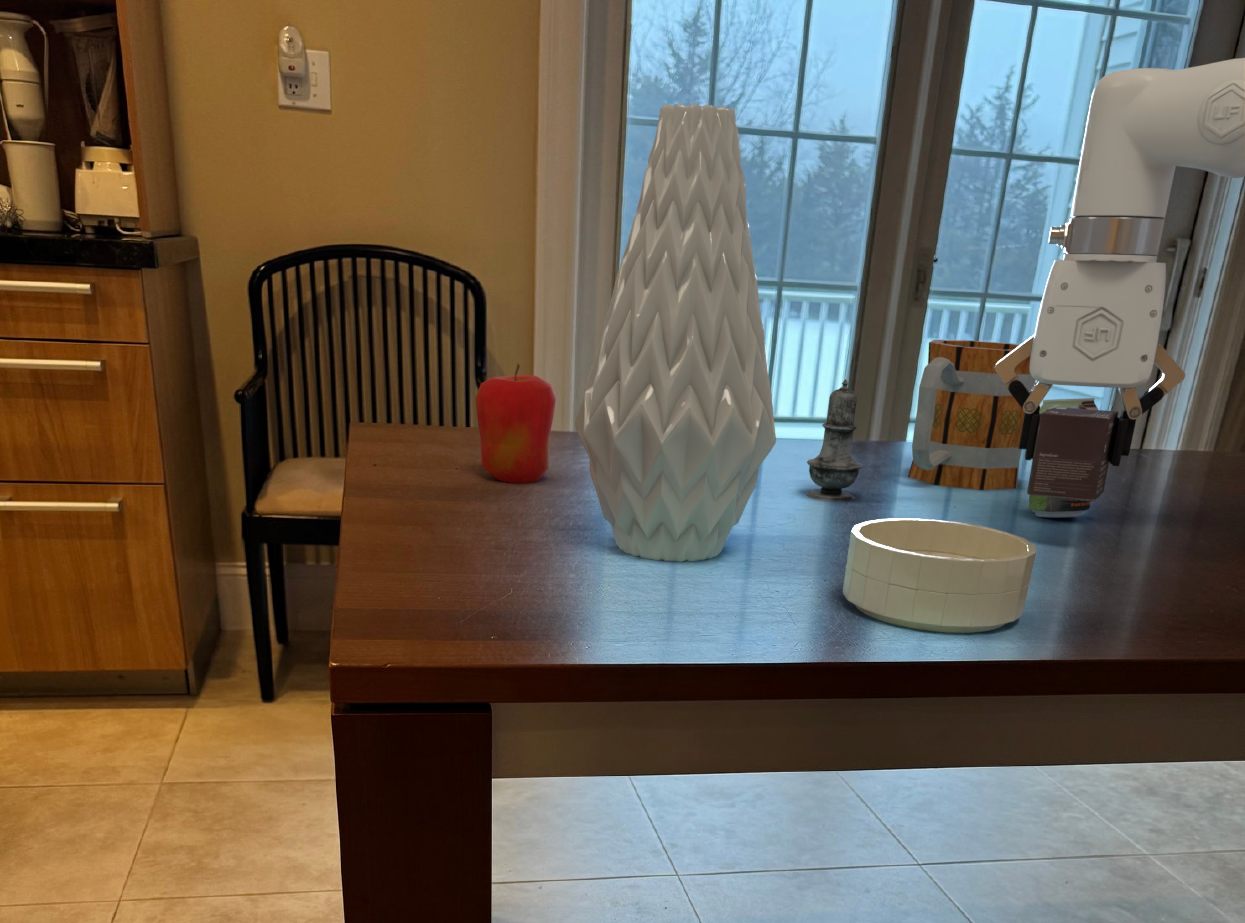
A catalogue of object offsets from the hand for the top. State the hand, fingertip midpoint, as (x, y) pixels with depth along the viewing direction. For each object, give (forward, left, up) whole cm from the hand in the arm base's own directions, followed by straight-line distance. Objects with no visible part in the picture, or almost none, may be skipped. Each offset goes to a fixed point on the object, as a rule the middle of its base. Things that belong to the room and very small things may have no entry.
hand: (1071, 459), depth 107 cm
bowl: (+10, +29, -8) cm, 31 cm away
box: (0, 0, -3) cm, 3 cm away
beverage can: (0, -14, -8) cm, 16 cm away
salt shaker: (+23, -12, -8) cm, 27 cm away
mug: (+11, -29, -8) cm, 32 cm away
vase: (+33, +20, -8) cm, 39 cm away
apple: (+56, -3, -8) cm, 56 cm away
